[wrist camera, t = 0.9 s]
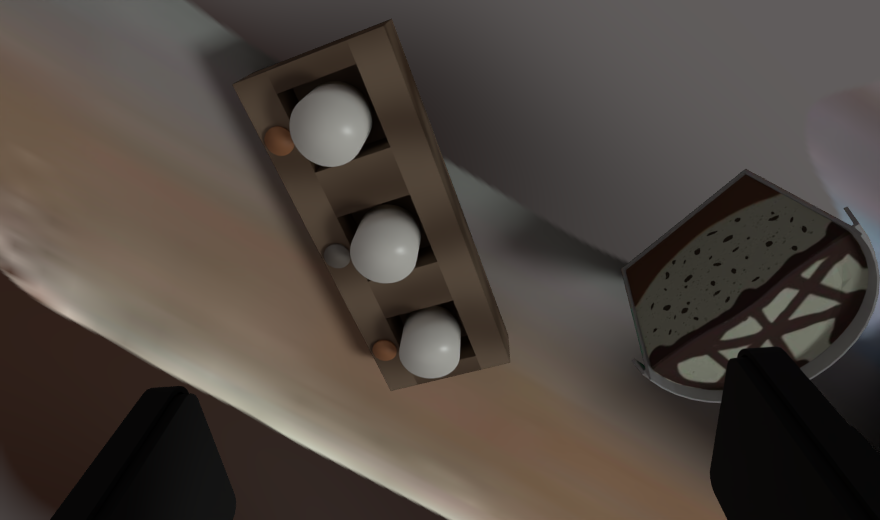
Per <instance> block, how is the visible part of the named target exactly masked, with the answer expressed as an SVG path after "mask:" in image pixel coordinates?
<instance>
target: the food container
mask: <svg viewBox="0 0 880 520" xmlns="http://www.w3.org/2000/svg"><path fill="white" fill-rule="evenodd" d="M844 210H845V211H846V213H847V214H848V216H849V217H850V219H851V220H852V222H853V224H854V225H852V226H851V225H849V224H847V223H845V222H843V221H841V220H840V219H838V218H836V217H834V216H832V215H830V214H828V213H827V212H825V211H823V210H821V209H819V208H817V207H815V206H813V205H811V204H810V203H808V202H806V201H804V200H802V199H800V198H799V197H797V196H795V195H793V194H791V193H790V192H788V191H786V190H784V189H782V188H780V187H778V186H777V185H775V184H773V183H771V182H769V181H767V180H765V179H764V178H762V177H760V176H758V175H756V174H754V173H752V172H750V171H749V170H747V169H745V170H744V171H742V172H741V173H740V174H739V175H737V176H736V177H735V178H734V179H732V180H731V181H730V182H729V183H728V184H726V185H725V186H724V187H722V188H721V189H720V190H719V191H717V192H716V193H715V194H714V195H713V196H711V197H710V198H709V199H708V200H706V201H705V202H704V203H703V204H701V205H700V206H699V207H698V208H696V209H695V210H694V211H693V212H692V213H690V214H689V215H688V216H687V217H685V218H684V219H683V220H682V221H680V222H679V223H678V224H676V225H675V226H674V227H673V228H671V229H670V230H669V231H668V232H667V233H665V234H664V235H663V236H662V237H660V238H659V239H658V240H657V241H656V242H654V243H653V244H652V245H651V246H649V247H648V248H647V249H645V250H644V251H643V252H642V253H640V254H639V255H638V256H637V257H636V258H634V259H633V260H632V261H630V262H629V263H628V264H627V265H625V266H624V267H623V268H622V269H621V272H622V276H623V280H624V284H625V288H626V292H627V296H628V300H629V304H630V308H631V312H632V316H633V320H634V324H635V328H636V332H637V336H638V340H639V344H640V348H641V352H642V356H643V361H644V365H645V366H644V365H643V364H641V363H640V362H639V361H637V360H636V359H633V360H632V361H633V363H634V364H635V365H636V367H637V368H638V369H639V371H640V372H641V373H642V375H644V376H645V377H647V378H648V379H649V380H650V381H652V382H653V383H655V384H656V385H658V386H659V387H661V388H662V389H665V390H667V391H669V392H671V393H673V394H675V395H678V396H681V397H684V398H688V399H691V400H697V401H703V402H711V403H721V400H722V394H723V387H724V381H725V375H726V369H727V364H728V361H729V360H730V359H731V358H737V355H738V353H739V351H740V350H741V349H745V348H760V347H775V346H777V347H780V348H782V349H783V350H784V351H785V352H786V353H787V354H788V355H789V356H790V358H791V359H792V360H793V361H794V362H795V363H796V364H797V366H798V367H799V368H800V369H801V370H802V371H803V373H804V374H805V375H806V376H807V377H808V378H809V380H810V379H812V378H814V377H816V376H817V375H819V374H820V373H822V372H823V371H825V370H826V369H828V368H829V367H830V366H832V365H833V364H834V363H835V362H836V361H837V360H839V359H840V358H841V357H842V356H843V355H844V354H845V353H846V352H847V351H848V350H849V349H850V348H851V347H852V345H853V344H854V343H855V342H856V341H857V340H858V338H859V337H860V335H861V334H862V332H863V331H864V329H865V328H866V326H867V324H868V322H869V320H870V318H871V316H872V314H873V312H874V309H875V305H876V302H877V298H878V294H879V280H880V277H879V270H878V264H877V260H876V257H875V252H874V249H873V247H872V244H871V242H870V239H869V237H868V235H867V234H866V232H865V231H864V230H863V228H862V227H861V225H860V224H859V222H858V221H857V220H856V218H855V217H854V215H853V214H852V213H851V211H850V210H849V208H848V207H845V208H844Z"/></svg>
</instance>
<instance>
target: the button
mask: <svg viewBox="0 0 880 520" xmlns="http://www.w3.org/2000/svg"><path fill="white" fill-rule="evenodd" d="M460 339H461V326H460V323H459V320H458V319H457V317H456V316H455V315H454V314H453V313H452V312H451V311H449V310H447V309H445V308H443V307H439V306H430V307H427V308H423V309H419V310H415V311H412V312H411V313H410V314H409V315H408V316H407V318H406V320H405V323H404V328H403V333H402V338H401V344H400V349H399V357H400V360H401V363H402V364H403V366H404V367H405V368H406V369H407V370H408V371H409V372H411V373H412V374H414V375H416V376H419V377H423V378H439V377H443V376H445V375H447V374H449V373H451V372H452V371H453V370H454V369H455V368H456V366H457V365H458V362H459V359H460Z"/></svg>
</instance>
